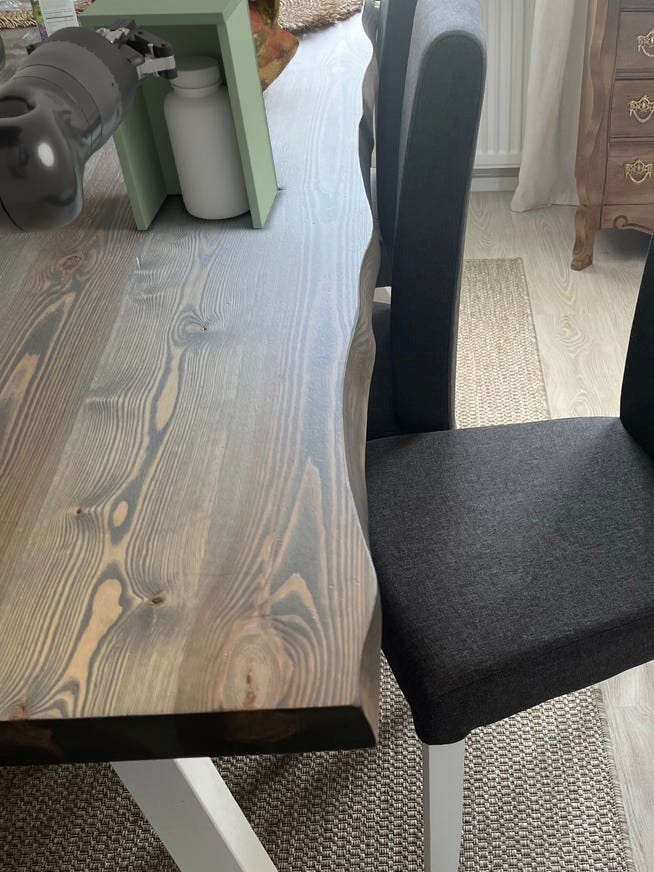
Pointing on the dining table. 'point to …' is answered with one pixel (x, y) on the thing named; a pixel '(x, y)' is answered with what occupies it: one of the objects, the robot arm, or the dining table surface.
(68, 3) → the syrup box
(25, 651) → the dining table surface
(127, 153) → the cabinet
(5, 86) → the robot arm
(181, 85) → the pill bottle
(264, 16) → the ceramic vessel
